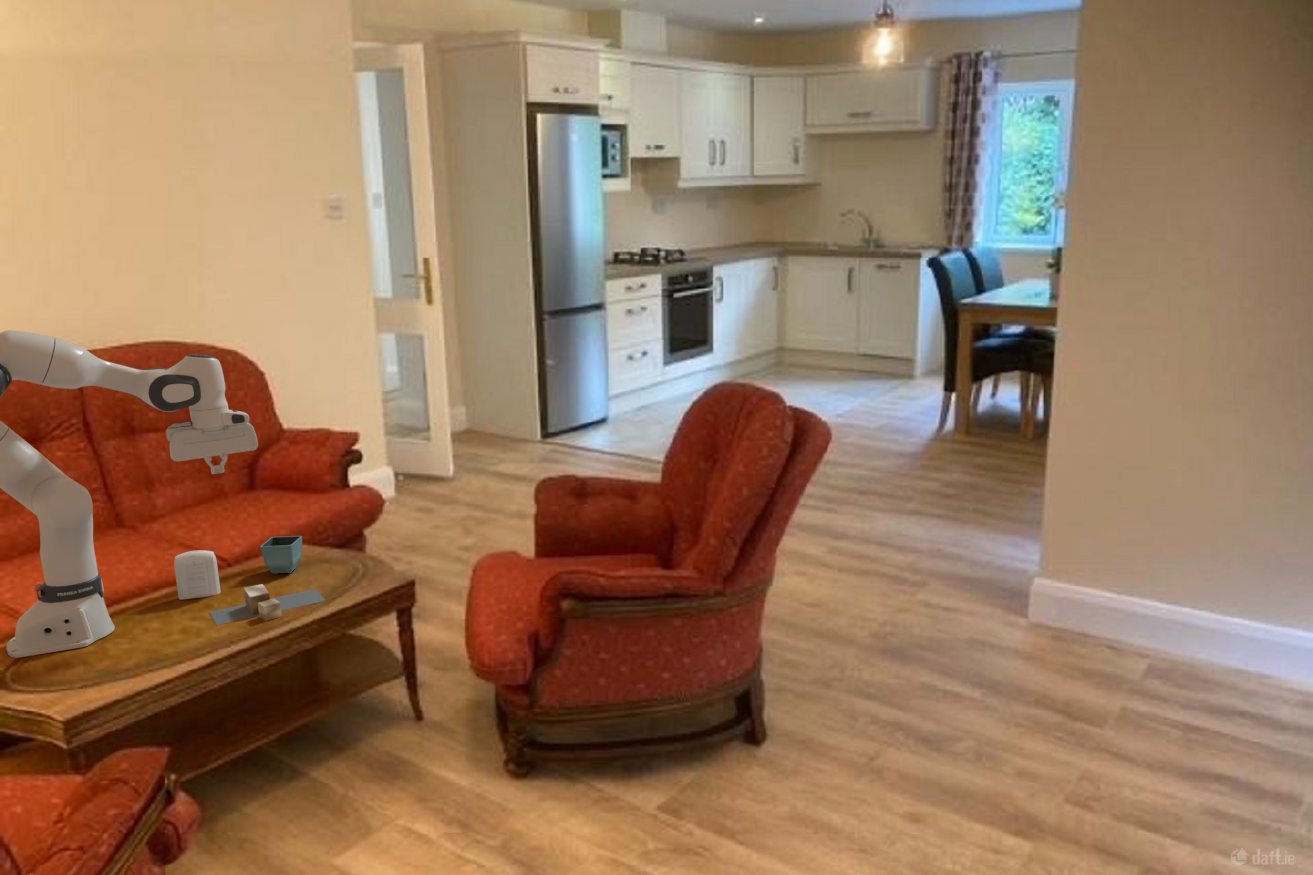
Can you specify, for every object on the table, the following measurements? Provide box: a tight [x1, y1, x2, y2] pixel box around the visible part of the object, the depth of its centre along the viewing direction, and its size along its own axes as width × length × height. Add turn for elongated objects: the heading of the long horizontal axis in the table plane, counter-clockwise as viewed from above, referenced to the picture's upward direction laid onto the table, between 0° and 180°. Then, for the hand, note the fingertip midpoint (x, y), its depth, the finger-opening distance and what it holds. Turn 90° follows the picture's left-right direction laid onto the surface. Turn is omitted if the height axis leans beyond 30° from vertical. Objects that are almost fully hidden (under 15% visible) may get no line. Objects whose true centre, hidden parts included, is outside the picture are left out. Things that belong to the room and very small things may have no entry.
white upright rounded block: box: [173, 549, 221, 601], centre depth 269 cm, size 10×4×12 cm, turn 107°
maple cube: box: [258, 598, 283, 622], centre depth 251 cm, size 4×4×4 cm
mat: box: [209, 588, 327, 626], centre depth 259 cm, size 26×11×1 cm, turn 122°
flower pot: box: [259, 535, 303, 574], centre depth 286 cm, size 9×9×9 cm
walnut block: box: [243, 583, 271, 615], centre depth 257 cm, size 4×8×5 cm, turn 32°
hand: (218, 472), depth 257 cm, fingers closed
